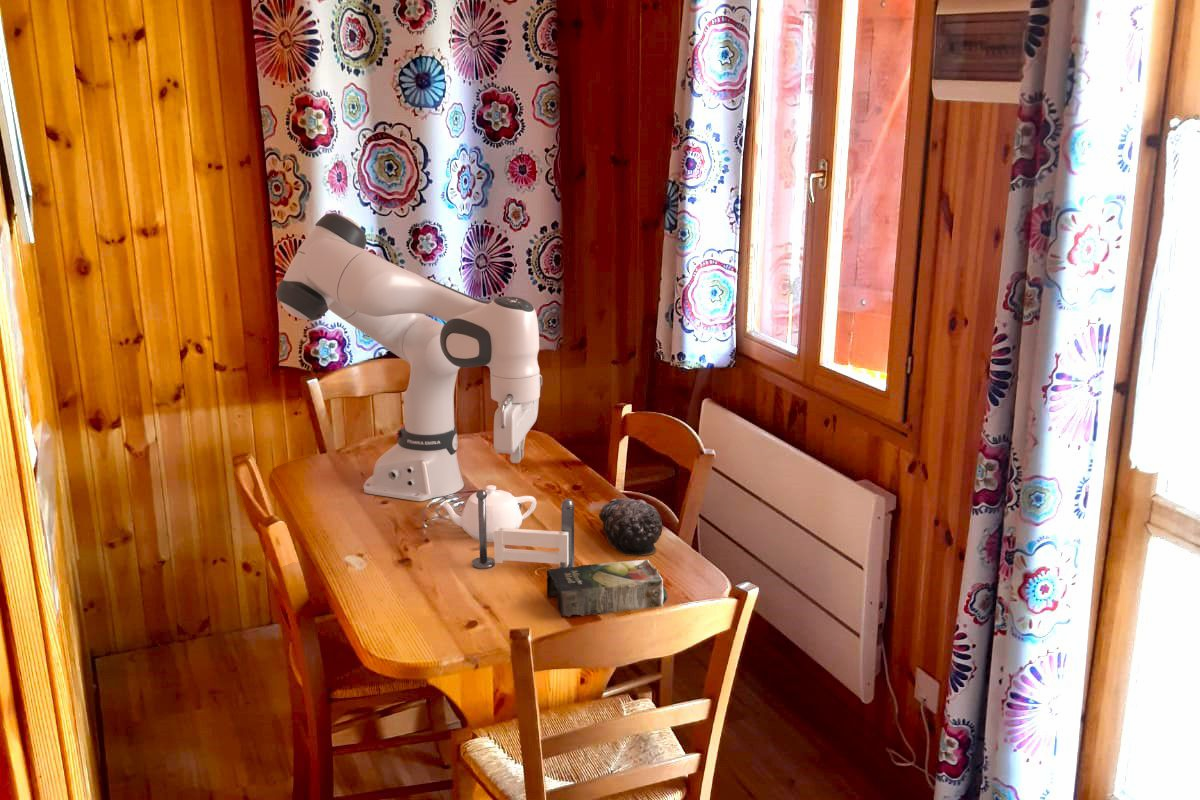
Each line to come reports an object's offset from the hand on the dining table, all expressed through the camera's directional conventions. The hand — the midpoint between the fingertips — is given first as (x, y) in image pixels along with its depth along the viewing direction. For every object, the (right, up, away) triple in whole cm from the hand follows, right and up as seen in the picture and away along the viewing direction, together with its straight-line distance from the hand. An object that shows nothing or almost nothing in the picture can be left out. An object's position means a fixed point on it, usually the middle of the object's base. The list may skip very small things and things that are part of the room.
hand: (516, 460), depth 200 cm
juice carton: (+16, -25, -5) cm, 31 cm away
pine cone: (+20, -18, +20) cm, 33 cm away
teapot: (-7, -16, +24) cm, 30 cm away
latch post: (+9, -21, +9) cm, 24 cm away
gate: (+2, -21, +8) cm, 22 cm away
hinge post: (-7, -20, +9) cm, 24 cm away
